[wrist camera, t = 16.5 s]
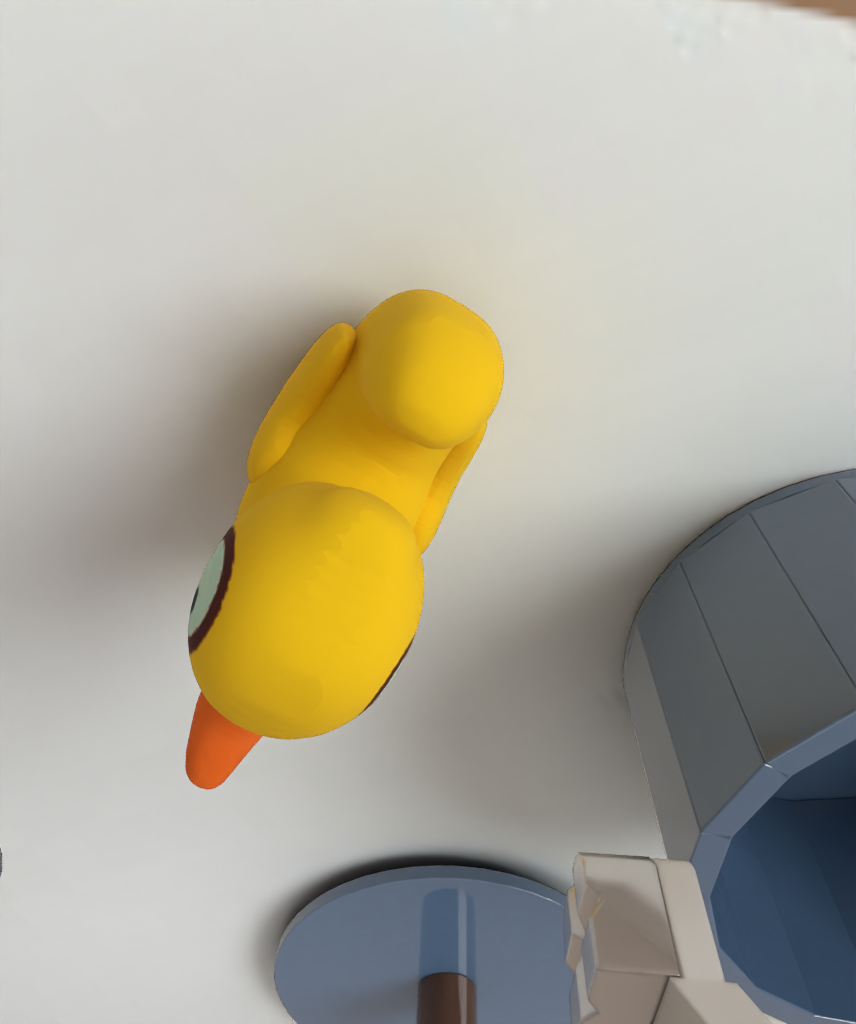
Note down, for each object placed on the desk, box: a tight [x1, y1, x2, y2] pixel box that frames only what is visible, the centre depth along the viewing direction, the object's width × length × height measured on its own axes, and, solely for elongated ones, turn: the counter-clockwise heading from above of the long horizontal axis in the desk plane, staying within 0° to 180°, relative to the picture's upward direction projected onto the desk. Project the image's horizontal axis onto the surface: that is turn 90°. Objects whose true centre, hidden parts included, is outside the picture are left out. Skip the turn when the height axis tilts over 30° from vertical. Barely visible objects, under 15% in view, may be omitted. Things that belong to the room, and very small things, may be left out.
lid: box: [274, 865, 574, 1024], centre depth 34 cm, size 15×15×5 cm
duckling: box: [186, 290, 504, 789], centre depth 19 cm, size 11×5×10 cm, turn 148°
